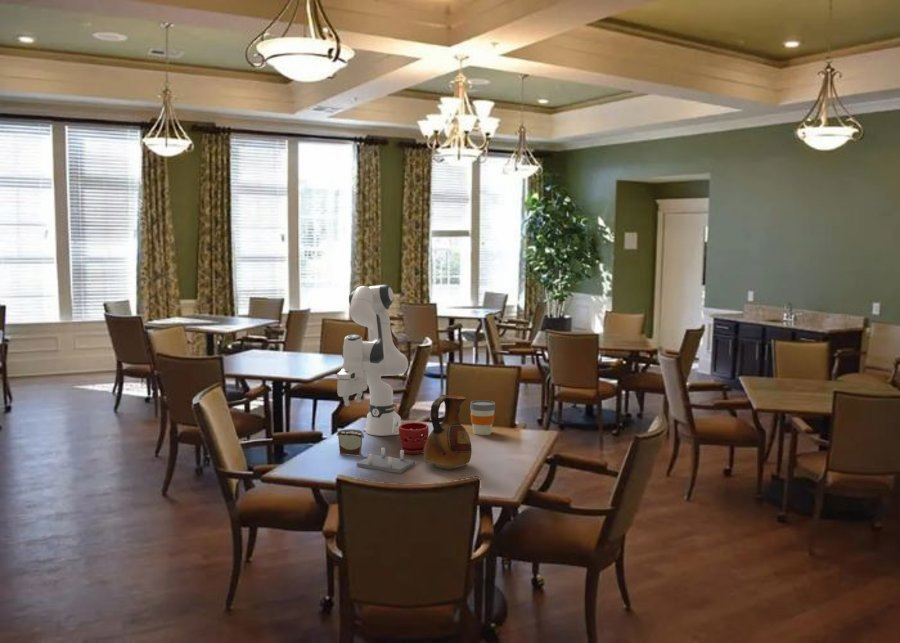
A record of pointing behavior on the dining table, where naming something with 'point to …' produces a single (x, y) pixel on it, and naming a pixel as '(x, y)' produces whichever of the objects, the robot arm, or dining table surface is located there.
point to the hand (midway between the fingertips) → (352, 403)
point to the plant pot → (413, 437)
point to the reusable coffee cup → (482, 416)
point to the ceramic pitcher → (447, 436)
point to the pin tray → (386, 462)
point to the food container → (350, 441)
